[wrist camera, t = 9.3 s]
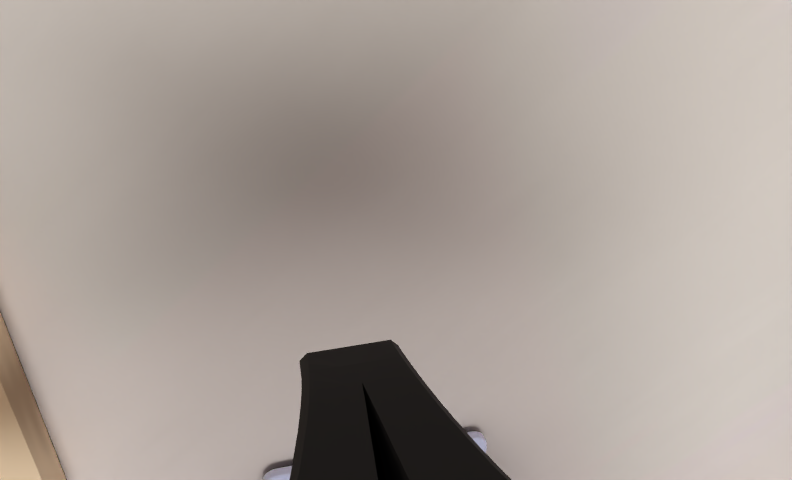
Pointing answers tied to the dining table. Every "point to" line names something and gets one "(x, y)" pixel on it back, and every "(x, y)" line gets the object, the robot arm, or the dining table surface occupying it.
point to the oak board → (22, 423)
